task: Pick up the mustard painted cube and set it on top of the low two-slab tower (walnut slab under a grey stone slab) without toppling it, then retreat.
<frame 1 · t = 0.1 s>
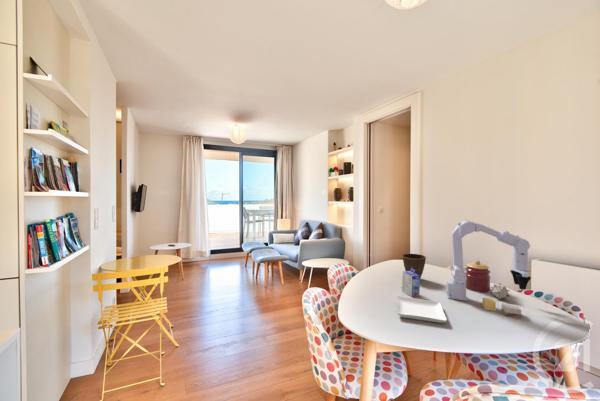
hand: (519, 286, 136), 10 cm above the table, fingers open, 7 cm apart
plant pot: (413, 279, 179), on the table
tower top slab: (511, 310, 126), point 2 cm above the table
ink cartridge box: (410, 294, 153), on the table
canister: (477, 289, 160), on the table
salad plate: (419, 313, 128), on the table
mustard cube: (488, 308, 133), on the table
tower base slab: (510, 315, 126), on the table
game die: (499, 298, 145), on the table
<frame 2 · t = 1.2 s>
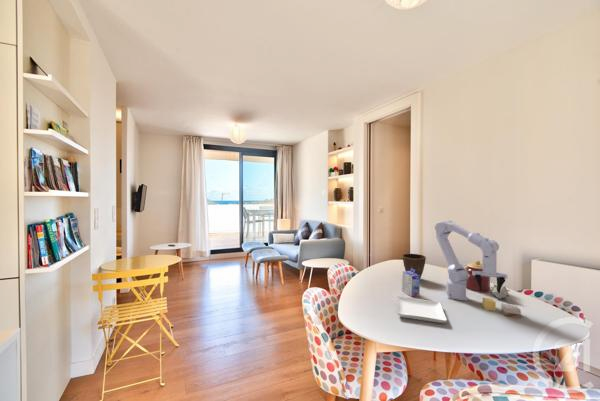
hand: (489, 290, 133), 9 cm above the table, fingers open, 7 cm apart
tower top slab: (510, 310, 126), point 2 cm above the table, touching tower base slab
tower base slab: (510, 315, 126), on the table, touching tower top slab
everything else where it was.
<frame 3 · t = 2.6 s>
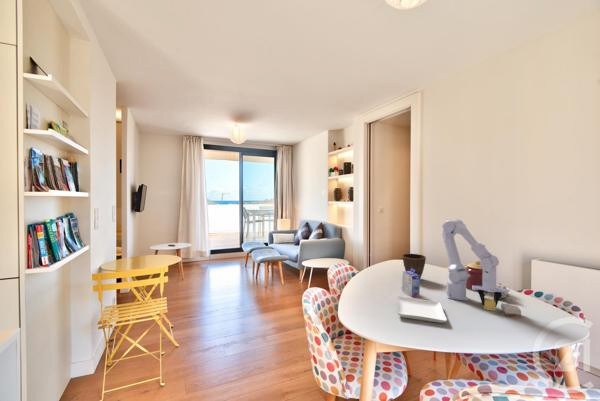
hand: (488, 305, 133), 1 cm above the table, fingers closed on mustard cube, 4 cm apart
tower top slab: (510, 311, 126), point 2 cm above the table
mustard cube: (488, 308, 133), on the table, touching gripper
tower base slab: (511, 315, 126), on the table
everything else where it was.
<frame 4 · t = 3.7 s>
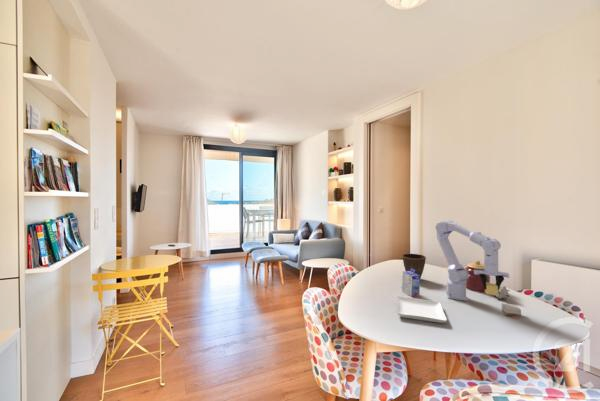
hand: (490, 289, 132), 10 cm above the table, fingers closed on mustard cube, 4 cm apart
tower top slab: (511, 311, 126), point 2 cm above the table, touching tower base slab
mustard cube: (490, 293, 132), point 8 cm above the table, touching gripper
tower base slab: (511, 315, 126), on the table, touching tower top slab
everything else where it was.
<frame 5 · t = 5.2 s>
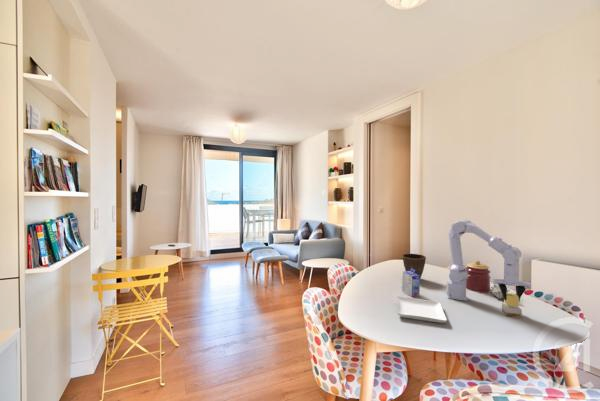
hand: (511, 300, 126), 7 cm above the table, fingers closed on mustard cube, 4 cm apart
mustard cube: (511, 303, 126), point 5 cm above the table, touching gripper
everything else where it was.
when the fingers open (7 cm above the table, at t = 5.3 s): mustard cube drops 1 cm, point 4 cm above the table.
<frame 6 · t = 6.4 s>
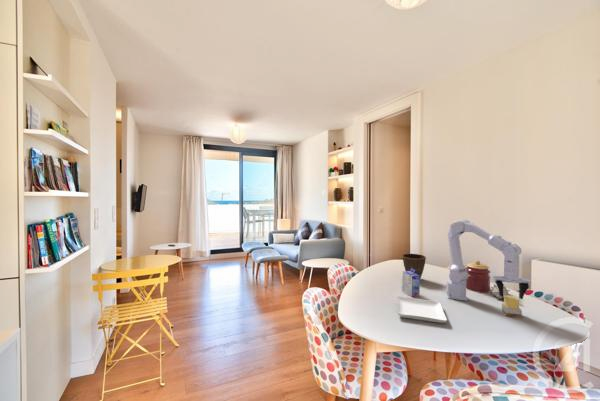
hand: (511, 297, 126), 9 cm above the table, fingers open, 7 cm apart
mustard cube: (511, 306, 126), point 4 cm above the table
everything else where it was.
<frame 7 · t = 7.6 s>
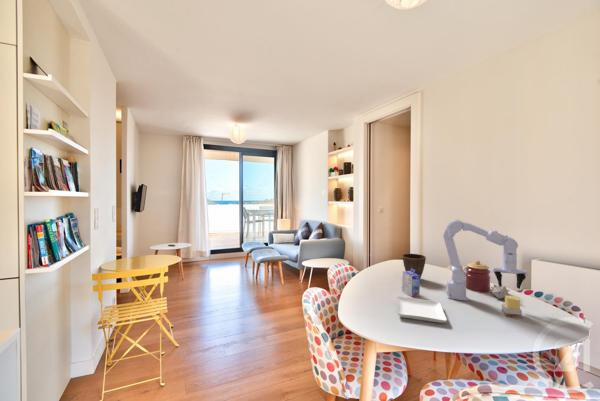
hand: (509, 287, 134), 10 cm above the table, fingers open, 7 cm apart
tower top slab: (511, 311, 126), point 2 cm above the table, touching mustard cube, tower base slab
mustard cube: (512, 306, 125), point 4 cm above the table, touching tower top slab
everything else where it was.
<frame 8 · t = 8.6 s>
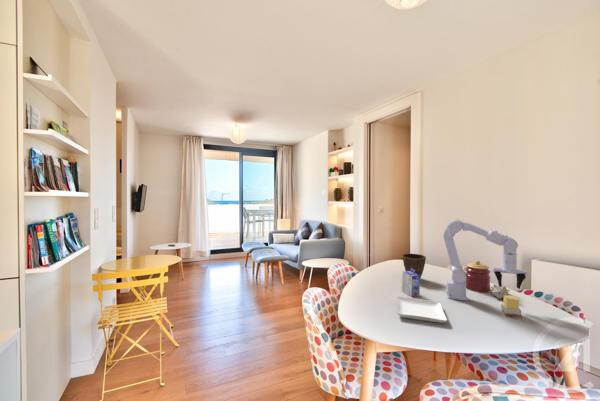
hand: (509, 287, 134), 10 cm above the table, fingers open, 7 cm apart
tower top slab: (510, 311, 126), point 2 cm above the table, touching tower base slab
mustard cube: (510, 306, 126), point 4 cm above the table
everything else where it was.
at the end: mustard cube 0.1 cm off-centre on the tower top slab, point 2.3 cm above the tower top slab's base; mustard cube tilted 1°; tower top slab moved 0.7 cm from its start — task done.
